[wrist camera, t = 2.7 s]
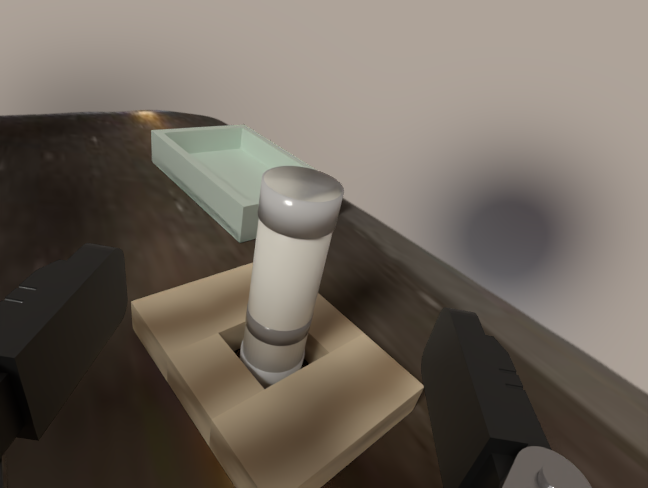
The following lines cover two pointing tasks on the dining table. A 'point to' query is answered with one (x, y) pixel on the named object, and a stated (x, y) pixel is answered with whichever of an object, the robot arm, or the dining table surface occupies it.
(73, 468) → the dining table surface
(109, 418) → the dining table surface
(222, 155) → the parts tray
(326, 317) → the fuse holder
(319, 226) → the fuse
